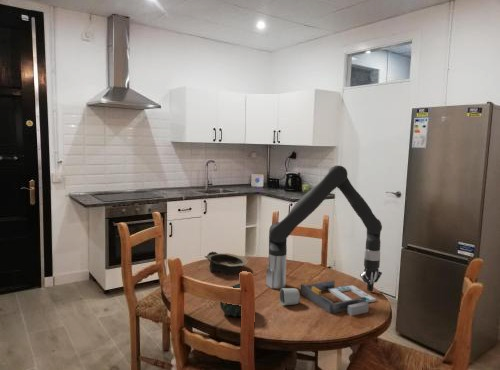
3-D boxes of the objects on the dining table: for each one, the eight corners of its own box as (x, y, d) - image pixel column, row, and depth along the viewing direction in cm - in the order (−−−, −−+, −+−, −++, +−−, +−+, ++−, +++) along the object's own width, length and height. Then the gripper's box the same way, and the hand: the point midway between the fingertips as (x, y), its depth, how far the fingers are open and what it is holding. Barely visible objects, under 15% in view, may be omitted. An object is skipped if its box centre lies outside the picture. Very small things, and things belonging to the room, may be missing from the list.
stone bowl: (195, 271, 220) (196, 255, 220) (223, 263, 241) (224, 248, 240) (230, 280, 206) (231, 263, 206) (255, 271, 227) (256, 255, 226)
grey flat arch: (328, 287, 196) (352, 284, 202) (328, 292, 196) (352, 288, 202) (350, 302, 179) (376, 298, 185) (349, 306, 180) (375, 302, 185)
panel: (351, 316, 169) (351, 307, 168) (347, 314, 171) (347, 305, 170) (368, 312, 173) (368, 303, 173) (364, 310, 175) (364, 301, 175)
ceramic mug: (301, 306, 177) (301, 290, 176) (284, 308, 175) (285, 291, 174) (291, 297, 187) (292, 282, 186) (276, 299, 185) (276, 283, 184)
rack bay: (330, 313, 170) (331, 298, 169) (300, 293, 192) (301, 280, 191) (365, 306, 179) (366, 291, 178) (332, 287, 201) (333, 274, 200)
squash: (214, 295, 173) (223, 279, 163) (245, 292, 180) (255, 276, 169) (221, 326, 165) (231, 310, 155) (253, 321, 171) (264, 306, 161)
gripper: (376, 254, 200) (374, 286, 202) (356, 257, 194) (354, 290, 196) (387, 258, 194) (385, 291, 196) (367, 261, 188) (365, 295, 190)
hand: (370, 290), depth 196 cm, fingers closed
